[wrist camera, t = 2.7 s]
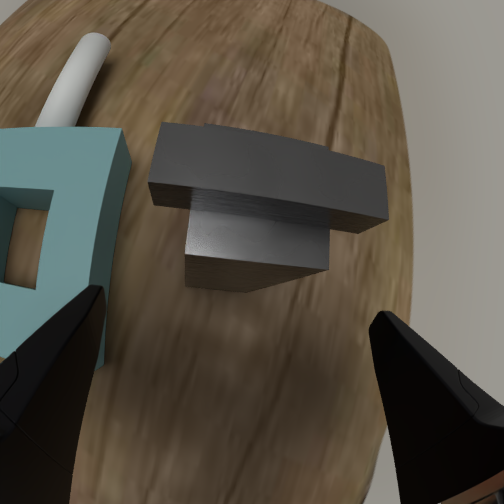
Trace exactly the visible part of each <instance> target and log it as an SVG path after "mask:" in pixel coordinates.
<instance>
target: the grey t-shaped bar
mask: <svg viewBox="0 0 504 504" xmlns="http://www.w3.org/2000/svg"><path fill="white" fill-rule="evenodd" d="M148 185H149V189H150V193H151V196H152V200H153V204H154V205H156V206H164V207H173V208H182V209H190V217H189V224H188V232H187V240H186V248H185V286H186V287H195V288H205V289H214V290H224V291H235V292H245V293H247V292H251V291H254V290H258V289H262V288H265V287H269V286H273V285H277V284H280V283H284V282H287V281H291V280H295V279H298V278H302V277H305V276H309V275H312V274H316V273H319V272H323V271H326V270H329V240H330V229H332V230H338V231H344V232H350V233H356V234H359V233H361V232H363V231H366V230H368V229H370V228H372V227H374V226H377V225H379V224H381V223H383V222H385V221H387V220H389V214H388V199H387V187H386V176H385V167H384V166H383V165H380V164H376V163H373V162H370V161H366V160H363V159H359V158H356V157H352V156H348V155H345V154H341V153H337V152H333V151H329V150H328V147H326V146H322V145H318V144H314V143H310V142H305V141H301V140H296V139H292V138H287V137H282V136H278V135H273V134H267V133H262V132H257V131H251V130H245V129H240V128H233V127H227V126H220V125H213V124H206V123H205V124H204V127H202V126H195V125H186V124H177V123H167V122H162V123H161V127H160V130H159V134H158V138H157V142H156V147H155V151H154V155H153V159H152V164H151V168H150V173H149V177H148Z"/></svg>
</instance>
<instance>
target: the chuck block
mask: <svg viewBox="0 0 504 504" xmlns="http://www.w3.org/2000/svg"><path fill="white" fill-rule="evenodd" d="M110 49H111V43H110V41H109V39H108V38H107V37H105V36H104V35H102V34H99V33H89V34H86V35H84V36H83V37H82V38H81V40H80V41H79V43H78V45H77V46H76V48H75V49H74V51H73V53H72V54H71V56H70V58H69V59H68V61H67V63H66V65H65V66H64V68H63V70H62V72H61V73H60V75H59V77H58V79H57V81H56V83H55V85H54V87H53V89H52V91H51V93H50V95H49V97H48V99H47V101H46V103H45V105H44V107H43V109H42V112H41V114H40V116H39V118H38V121H37V123H36V125H35V127H26V128H7V129H0V357H3V358H7V357H8V356H9V355H10V354H11V353H12V352H13V351H16V349H17V348H18V347H19V346H20V345H21V344H22V343H23V342H24V341H25V340H26V339H27V338H28V337H29V336H31V335H32V334H33V333H34V332H35V331H36V330H37V329H38V328H39V327H41V326H42V325H43V324H44V323H45V322H46V321H47V320H48V319H50V318H51V317H52V316H53V315H54V314H55V313H56V312H58V311H59V310H60V309H61V308H62V307H63V306H65V305H66V304H67V303H68V302H69V301H70V300H72V299H73V298H74V297H75V296H76V295H78V294H79V293H80V292H81V291H82V290H84V289H85V288H86V287H87V286H88V285H90V284H96V285H102V286H103V287H104V290H105V297H106V304H107V305H108V295H109V286H110V277H111V270H112V262H113V255H114V248H115V242H116V236H117V230H118V224H119V219H120V214H121V209H122V204H123V199H124V194H125V189H126V185H127V180H128V176H129V172H130V168H131V164H132V161H131V158H130V154H129V151H128V148H127V144H126V141H125V138H124V134H123V131H122V128H103V127H75V125H76V123H77V120H78V117H79V115H80V112H81V110H82V108H83V105H84V103H85V101H86V98H87V96H88V94H89V91H90V89H91V87H92V85H93V83H94V81H95V78H96V76H97V74H98V72H99V70H100V68H101V66H102V64H103V62H104V60H105V58H106V57H107V55H108V53H109V51H110ZM17 208H26V209H37V210H48V211H49V214H48V218H47V223H46V228H45V233H44V238H43V243H42V249H41V255H40V261H39V268H38V275H37V283H36V289H32V288H27V287H22V286H18V285H13V284H8V283H4V274H5V267H6V260H7V254H8V248H9V243H10V237H11V232H12V228H13V223H14V219H15V214H16V210H17ZM106 317H107V311H106ZM106 317H105V322H104V327H103V333H102V338H101V344H100V350H99V355H98V359H97V363H96V367H95V371H96V370H97V369H98V368H100V367H101V366H103V365H104V349H105V331H106Z"/></svg>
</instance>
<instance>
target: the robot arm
mask: <svg viewBox="0 0 504 504" xmlns="http://www.w3.org/2000/svg"><path fill="white" fill-rule="evenodd" d="M106 311H107V304H106V297H105V290H104V287H103V286H102V285H96V284H90V285H88V286H87V287H86V288H85V289H84V290H82V291H81V292H80V293H79V294H78V295H76V296H75V297H74V298H73V299H72V300H70V301H69V302H68V303H67V304H66V305H65V306H63V307H62V308H61V309H60V310H59V311H58V312H56V313H55V314H54V315H53V316H52V317H51V318H50V319H48V320H47V321H46V322H45V323H44V324H43V325H42V326H41V327H39V328H38V329H37V330H36V331H35V332H34V333H33V334H32V335H31V336H29V337H28V338H27V339H26V340H25V341H24V342H23V343H22V344H21V345H20V346H19V347H18V348H17V349H16V351H13V352H12V353H11V354H10V355H9V356H8V357H7V358H6V359H5V360H4V361H3V362H1V363H0V504H69V501H70V492H71V484H72V477H73V475H72V474H73V469H74V463H75V457H76V451H77V445H78V440H79V435H80V430H81V425H82V420H83V415H84V411H85V407H86V402H87V398H88V394H89V390H90V386H91V382H92V378H93V374H94V371H95V367H96V363H97V359H98V355H99V350H100V344H101V338H102V333H103V327H104V322H105V317H106ZM369 338H370V344H371V350H372V356H373V363H374V369H375V373H376V377H377V381H378V386H379V390H380V394H381V398H382V403H383V407H384V411H385V416H386V421H387V425H388V430H389V435H390V440H391V446H392V451H393V456H394V462H395V468H396V474H397V481H398V488H399V495H400V502H401V504H438V503H441V504H504V406H503V405H501V404H500V403H499V402H497V401H496V400H495V399H493V398H492V397H491V396H490V395H488V394H487V393H486V392H485V391H483V390H482V389H481V388H480V387H478V386H477V385H476V384H475V383H473V382H472V381H471V380H470V379H469V378H468V377H467V376H465V375H464V374H463V373H462V372H461V371H460V370H457V368H456V367H455V366H454V365H453V364H452V363H451V362H450V361H448V360H447V359H446V358H445V357H444V356H443V355H442V354H440V353H439V352H438V351H437V350H436V349H435V348H433V347H432V346H431V345H430V344H429V343H428V342H427V341H425V340H424V339H423V338H422V337H421V336H420V335H418V334H417V333H416V332H415V331H414V330H412V329H411V328H410V327H409V326H408V325H407V324H405V323H404V322H403V321H402V320H401V319H399V318H398V317H397V316H396V315H395V314H393V313H392V312H391V311H380V312H378V314H377V315H376V317H375V318H374V320H373V322H372V323H371V325H370V327H369Z"/></svg>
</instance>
